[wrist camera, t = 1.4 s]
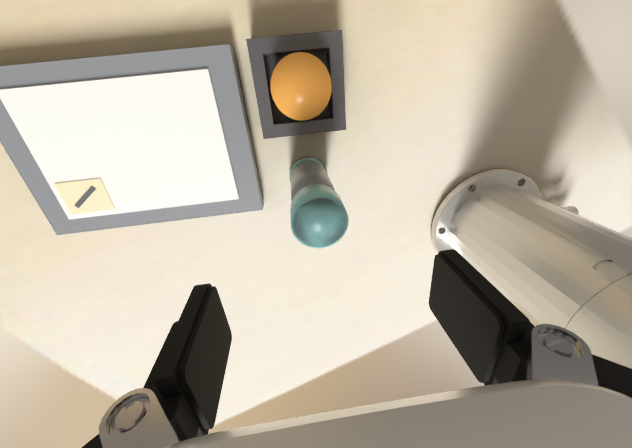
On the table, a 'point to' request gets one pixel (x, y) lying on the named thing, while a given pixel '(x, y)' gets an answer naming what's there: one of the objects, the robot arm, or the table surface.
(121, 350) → the table surface
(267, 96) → the button housing
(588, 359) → the robot arm
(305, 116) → the button
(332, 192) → the marker
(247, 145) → the drawing board
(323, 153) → the table surface
